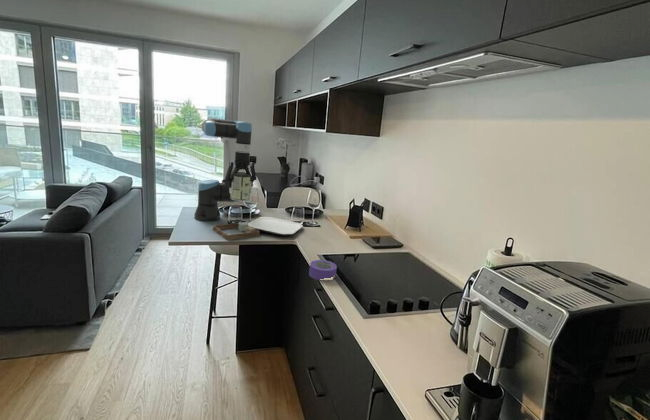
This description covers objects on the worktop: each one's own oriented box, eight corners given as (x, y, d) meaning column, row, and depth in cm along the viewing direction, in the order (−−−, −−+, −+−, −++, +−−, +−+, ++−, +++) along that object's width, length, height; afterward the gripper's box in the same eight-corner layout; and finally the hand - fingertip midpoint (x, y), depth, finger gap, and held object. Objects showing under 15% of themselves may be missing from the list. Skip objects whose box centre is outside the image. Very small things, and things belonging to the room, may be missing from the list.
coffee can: (235, 195, 190) (236, 171, 187) (252, 198, 188) (254, 173, 185) (226, 199, 180) (228, 172, 177) (244, 202, 179) (246, 175, 175)
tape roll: (308, 268, 153) (309, 258, 152) (333, 270, 155) (335, 260, 153) (309, 280, 142) (311, 269, 141) (337, 282, 143) (338, 271, 142)
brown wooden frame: (212, 229, 188) (213, 225, 188) (243, 226, 201) (244, 222, 200) (227, 240, 176) (227, 235, 175) (259, 235, 188) (259, 231, 188)
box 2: (244, 233, 189) (245, 227, 188) (250, 232, 192) (250, 226, 191) (249, 235, 186) (249, 229, 185) (254, 234, 189) (255, 227, 188)
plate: (242, 228, 192) (242, 224, 192) (263, 218, 220) (263, 215, 220) (290, 239, 187) (290, 235, 186) (305, 227, 214) (305, 224, 214)
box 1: (238, 229, 195) (238, 222, 194) (244, 228, 198) (245, 222, 197) (240, 231, 192) (241, 224, 191) (247, 230, 194) (247, 224, 193)
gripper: (225, 151, 168) (223, 195, 173) (265, 153, 183) (261, 193, 188) (219, 149, 174) (217, 192, 179) (257, 151, 188) (255, 190, 194)
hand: (240, 193), depth 184 cm, fingers closed on coffee can, 10 cm apart
